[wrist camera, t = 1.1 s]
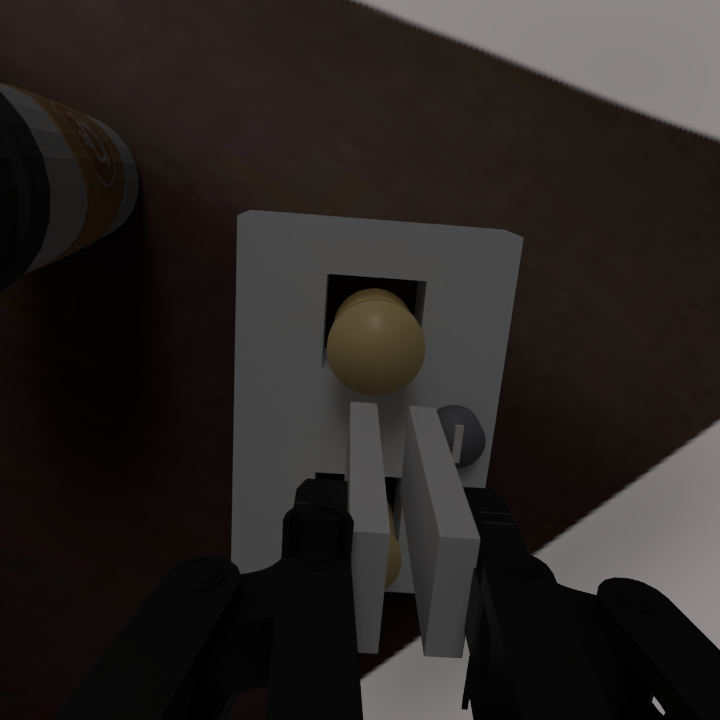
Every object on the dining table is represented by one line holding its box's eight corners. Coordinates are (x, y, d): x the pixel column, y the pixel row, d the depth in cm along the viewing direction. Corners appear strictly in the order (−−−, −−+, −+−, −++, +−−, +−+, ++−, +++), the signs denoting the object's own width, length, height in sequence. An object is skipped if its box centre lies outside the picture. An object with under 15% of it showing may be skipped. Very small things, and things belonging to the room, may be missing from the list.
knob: (327, 365, 32) (323, 392, 28) (332, 281, 31) (329, 297, 27) (412, 371, 32) (420, 399, 28) (421, 287, 31) (430, 304, 27)
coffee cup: (190, 210, 34) (71, 243, 19) (65, 281, 35) (-136, 362, 21) (101, 62, 32) (-107, -25, 17) (-30, 143, 33) (-329, 125, 18)
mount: (242, 542, 40) (224, 603, 34) (250, 209, 34) (230, 218, 28) (457, 555, 40) (474, 617, 35) (504, 229, 34) (533, 241, 29)
